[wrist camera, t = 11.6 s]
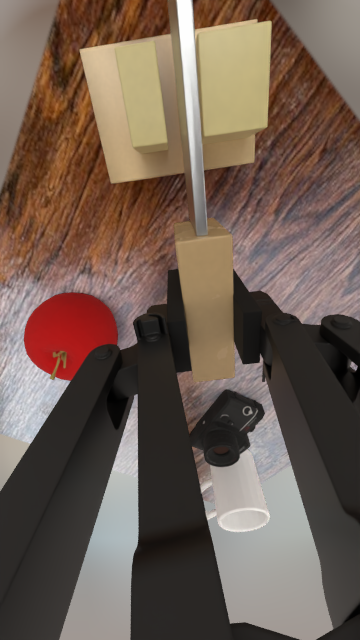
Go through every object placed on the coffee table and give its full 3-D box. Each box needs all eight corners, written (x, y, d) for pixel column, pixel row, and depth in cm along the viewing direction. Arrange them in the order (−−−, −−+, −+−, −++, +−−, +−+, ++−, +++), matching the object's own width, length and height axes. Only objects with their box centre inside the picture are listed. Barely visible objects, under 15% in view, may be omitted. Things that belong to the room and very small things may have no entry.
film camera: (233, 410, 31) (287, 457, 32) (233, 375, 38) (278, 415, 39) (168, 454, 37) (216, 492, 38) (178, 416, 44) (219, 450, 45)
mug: (185, 452, 45) (189, 516, 37) (250, 443, 44) (269, 506, 36) (193, 475, 49) (197, 537, 41) (252, 467, 48) (270, 529, 40)
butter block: (248, 56, 15) (272, 19, 11) (247, 137, 17) (267, 127, 13) (191, 65, 15) (197, 32, 11) (197, 145, 17) (203, 137, 13)
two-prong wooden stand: (234, 61, 19) (257, 18, 14) (235, 165, 23) (254, 162, 18) (103, 82, 20) (78, 48, 14) (124, 182, 23) (110, 183, 18)
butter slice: (158, 71, 15) (154, 39, 12) (168, 149, 17) (167, 142, 14) (126, 76, 15) (113, 46, 12) (140, 154, 17) (132, 148, 14)
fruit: (31, 307, 29) (-27, 362, 21) (86, 265, 27) (46, 307, 18) (87, 357, 33) (58, 419, 25) (139, 324, 31) (127, 381, 22)
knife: (219, 330, 18) (235, 378, 14) (188, 334, 18) (193, 383, 14) (194, -160, 8) (221, -524, 4) (125, -147, 8) (77, -490, 4)
